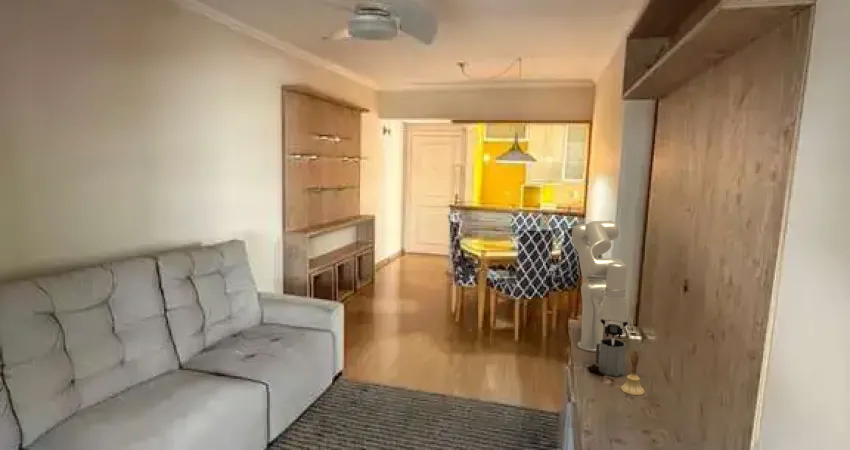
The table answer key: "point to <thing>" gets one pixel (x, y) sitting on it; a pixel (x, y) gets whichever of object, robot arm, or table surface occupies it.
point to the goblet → (613, 331)
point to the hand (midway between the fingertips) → (613, 335)
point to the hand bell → (633, 378)
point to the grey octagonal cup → (611, 357)
